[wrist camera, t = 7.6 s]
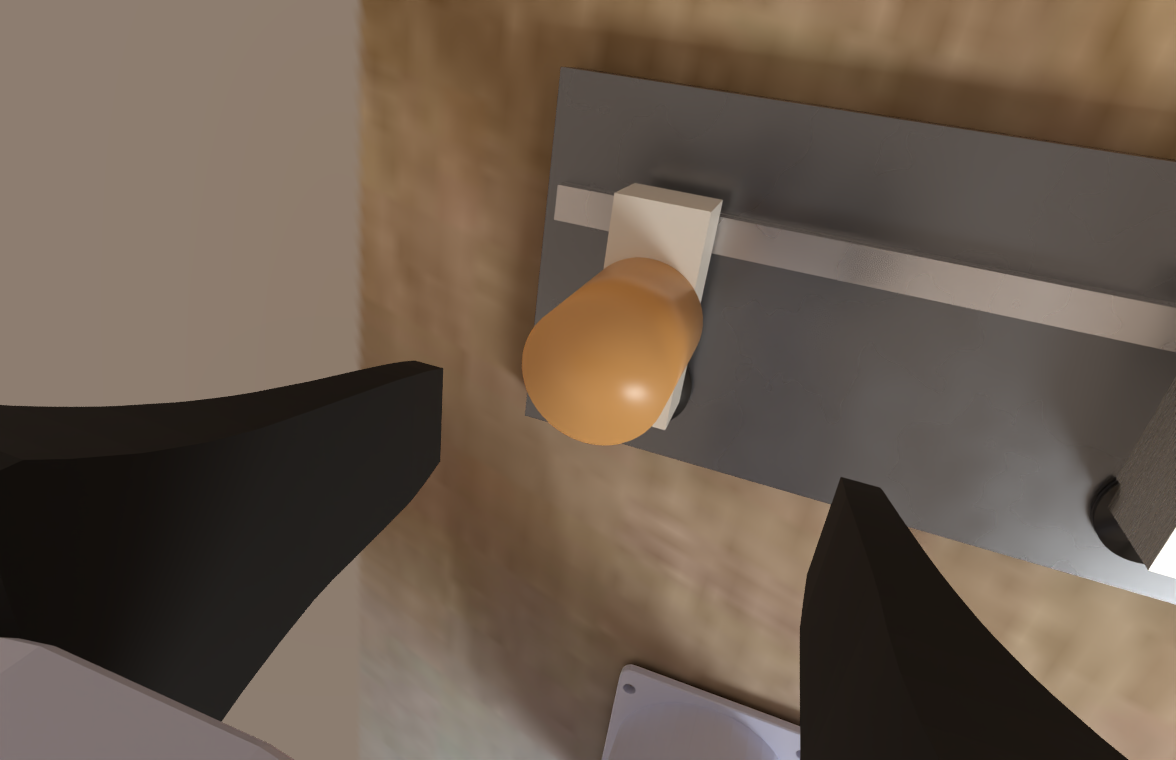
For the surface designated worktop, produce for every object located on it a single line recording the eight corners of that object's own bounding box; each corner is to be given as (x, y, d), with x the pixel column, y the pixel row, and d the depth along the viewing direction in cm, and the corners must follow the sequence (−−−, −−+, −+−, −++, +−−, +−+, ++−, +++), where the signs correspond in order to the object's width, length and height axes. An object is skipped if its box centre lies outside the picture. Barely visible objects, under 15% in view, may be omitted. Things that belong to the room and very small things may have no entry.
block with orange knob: (690, 418, 21) (638, 537, 15) (591, 391, 21) (508, 495, 16) (739, 201, 18) (697, 252, 12) (623, 178, 18) (535, 217, 13)
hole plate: (1253, 603, 19) (1351, 726, 15) (538, 401, 24) (485, 457, 21) (1546, 218, 14) (1788, 263, 11) (575, 67, 19) (515, 63, 16)
